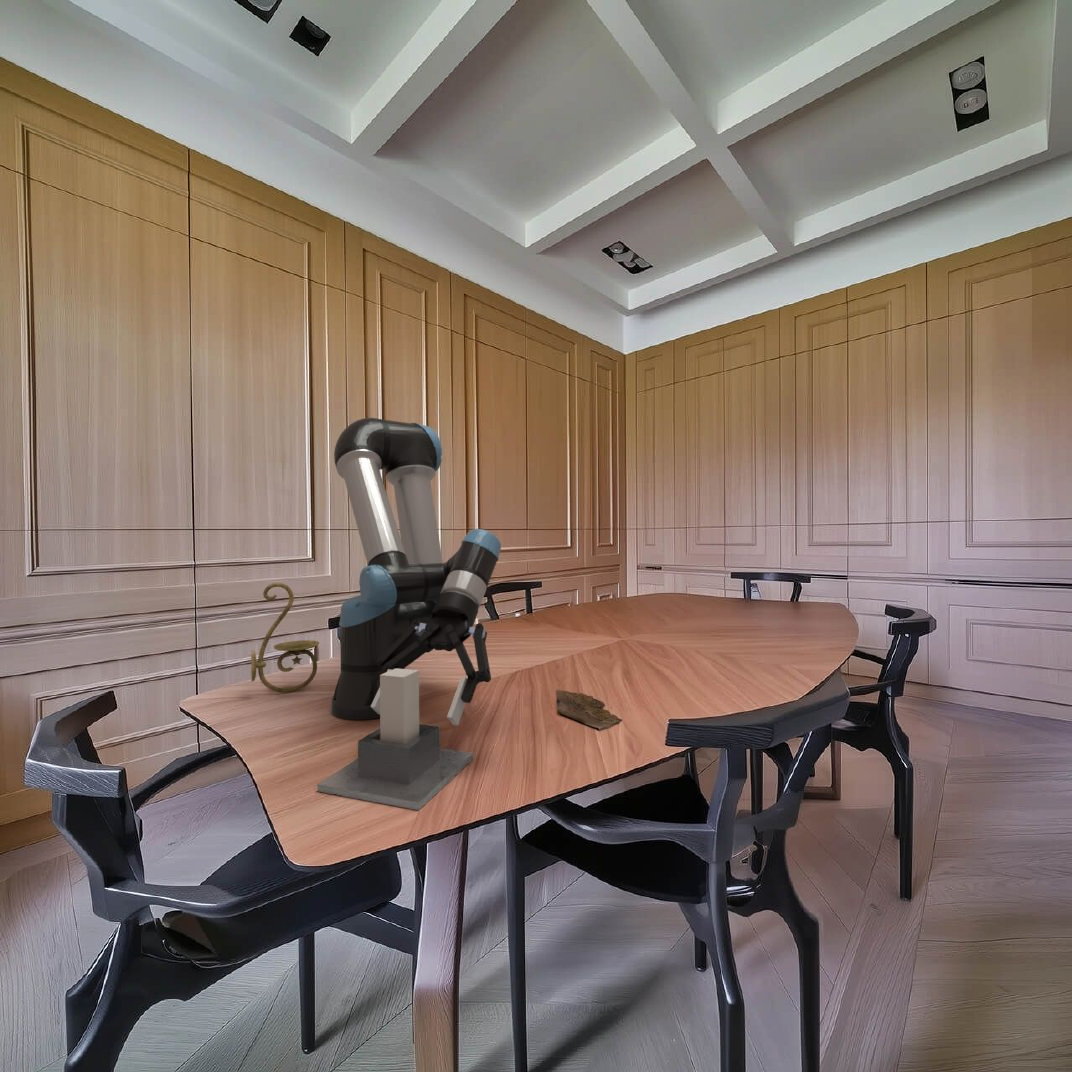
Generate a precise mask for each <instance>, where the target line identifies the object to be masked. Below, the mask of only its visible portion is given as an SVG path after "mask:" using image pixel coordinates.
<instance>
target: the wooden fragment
mask: <svg viewBox="0 0 1072 1072" xmlns="http://www.w3.org/2000/svg"><path fill="white" fill-rule="evenodd" d="M555 692H556V695H555V696H556V711H557V715H564V716H566V717H568V718H571V719H573V720H576V721H577V722H580V723H583V724H585V725H588V726H590V727H593V728H597V729H598V731H599V732H603V731H604V730H608V729H612V728H613V727H614V726H616V725H619V724H620V723H621V722H623V719H622V718H619V717H618V716H617V715H616V714H613V713H612V714H611V712H610V711H609V710H608V709H604V707H605V702H604V701H602V700H600V699H597V698H594V697H593V696H592V695H588V694H585V693H583V692H579V693H578V692H571V691H568V690H562V689H556V690H555ZM611 727H612V728H611Z"/></svg>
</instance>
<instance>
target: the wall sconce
mask: <svg viewBox="0 0 1072 1072" xmlns="http://www.w3.org/2000/svg"><path fill="white" fill-rule="evenodd" d="M277 587H278V588H281V589H284V590H285V591H286V592H287V594H288V603H287V605H286V606H285V608H284V609H283V611H282V612H281V613H280V614H279V616H278V617H277V618H276V620H275V621H274V622H273V624H272V625H271V626H270V628H269V630H268V631H267V633H266V635H265V637H264V639H263V641H262V643H261V646H260V649H259V653H258V659H257V656H256V652H255V650H254V649H253V650H251V652H250V653H251V657H250V658H251V659H250V660H251V661H250V664H251V665H250V666H251V669H250V671H251V673H250V674H251V682H254V681H255V680H256V678H257V675H256V674H257V671H258V677H259V680H260V681H261V683H262V685H264V686H265V687H266V688H267V689H269V690H271V691H273V692H278V693H292V692H296V691H299V690H301V689H303V688H305V687H307V686H308V685H309V684H310V683H311V682H312V681H313V680H314V678H315V676H316V675H317V671H318V661H317V658H316V655H314V653H313V652H312V651H311V650H309V649H313V648H315V647H317V646H319V645H320V641H318V640H317V641H316V640H312V639H311V640H306V639H305V640H292V641H285V642H281V643H277V644H274V645H273V648H274V650H277V651H281V652H282V651H284V652H283V653H282V654H281V655H280V656H279V657H278V659H277V663H276V666H277V667H278V668H277V669H278V670H280V671H281V672H282V673H286V672H291V671H293V670H294V667H291V666H289V667H284V666H283V664H282V663H283V660H284V659H285V658H286V657H288V656H290V655H294V656H295V658H292V659H291V660H292V662H293V665H296V664H298V665H301V660H302V659H303V658H301V657H300V658H299V656H300V654H306V655H307V656H308V657H309V658H310V659H311V663H312V671H311V673H310V675H309V677H308V678H307V679H306V680H305V681H304V682H302V683H300V684H298V685H295V686H292V687H278V686H275V685H273V684H272V683H270V682H269V681H268V680H267V679H266V677H265V673H264V668H265V667H267V662H266V661H264V654H265V651H266V648H267V645H268V643H269V640H270V639H271V637H272V635H273V633H274V631H275V630H276V629H277V627H278V626H279V624H280V623H281V622H282V620H283V619H285V616H286V615H287V614H288V613H289V611H290V610H291V608H292V606H293V603H294V598H295V596H294V593H293V591H292V589H291V588H290V587H289V586H288V585H287V584H285V583H282V582H275V583H274V582H273V583H270V584H268V586H266V587H265V588H264V590H263V593H262V595H263V598H264V599H265V600H267V601H274V600H275V599H277V596H278V595H276V594H273V596H269V594H268V592H269V591H270V590H271V589H273V588H277Z"/></svg>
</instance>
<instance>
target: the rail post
mask: <svg viewBox="0 0 1072 1072" xmlns="http://www.w3.org/2000/svg"><path fill="white" fill-rule="evenodd" d="M419 671H420V670H418V669H407V668H404V669H398V668H396V669H393V670H391V671H388V672H386V673H384V674H381V675H380V718H379V720H380V721H379V723H380V724H379V728H380V740H383V741H390V742H397V743H404V744H407V743H408V742H410V741H411V740H413V739H414V738H416V737H417V736H419V724H420V676H419V675H420V672H419Z"/></svg>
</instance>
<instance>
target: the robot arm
mask: <svg viewBox="0 0 1072 1072" xmlns="http://www.w3.org/2000/svg"><path fill="white" fill-rule="evenodd" d="M333 456H334V457H333V458H334V465H335V468H336V472H337V474H338V475H339V476H340V477H341V478H342V479H344V483H345V487H346V490H347V495H348V497H349V501H350V504H351V505H350V506H351V508H352V509H351V510H352V512H353V513H352V514H353V516H354V520H355V522H356V523H355V524H356V528H357V531H358V535H359V539H360V542H361V546H362V548H363V549H362V550H363V552H364V556H365V560H366V564H367V565H366V566H365V567H363V568H362V570H360V571H361V572H360V575H359V581H358V583H359V593H360V595H356V596H355V595H354V596H353V597H350V598H348V599H346V600H345V601H344V602H343V603H342V604H341V607H340V617H339V618H340V619H339V622H338V624H339V627H340V630H339V631H340V632H339V634H340V639H339V640H340V643H339V644H340V648H339V649H340V674H339V677H338V679H337V683H336V686H335V689H334V692H333V693H334V694H333V696H332V698H331V714H332V715H334V717H337V718H341V719H344V720H370V719H371V720H372V719H378V718H379V719H380V675H381V674H384V673H386V672H388V671H391V670H393V669H396V668H398V669H407V668H408V666H409V665H411V664H412V663H414V662H415V661H416V660H418V659H419V658H420V657H422V656H423V655H424V654H426V653H430V652H431V651H433V650H435V651H446V652H452V651H453V650H455V651H456V654H457V656H458V658H459V660H460V664H461V665H462V667H463V670H464V672H465V675H466V676H460V679H459V683H458V685H457V688H456V691H455V694H454V696H453V699H452V702H451V705H450V706H449V710H448V713H447V715H446V718H447V719H448V720H449V721H450V722H451V724H452V725H453V726H459V725H460V721H461V718H462V715H463V713H464V710H465V708H466V707H465V706H466V704H470V703H471V702H472V701H473V697H474V694H475V692H476V688H477V686H478V684H479V683H482V682H484V683H489V682H490V681H491V680H492V676H491V669H490V664H489V663H490V662H489V657H488V652H487V651H488V650H487V646H486V641H487V636H488V632H487V630H486V628H485V627H484V625H483V624H482V623H481V622H479V623H477V624H475V621H476V619H477V617H478V613H479V609H480V607H481V605H482V602H483V599H484V596H485V594H486V591H487V588H488V585H489V583H490V580H491V578H492V575H493V573H494V570H495V567H496V565H497V563H498V561H499V556H500V552H501V549H502V543H501V540H500V539H499V538H498V537H497V535H495V534H494V533H492V532H490V531H488V530H486V529H484V528H483V529H482V528H475V529H472V530H469V531H468V532H467V533H466V534H465V537H463V540H461V544H460V547H459V548H458V550H457V551H456V552H455V553H454V554H453V555H452V556H451V557H450V558H449V559H448V560H447V561H446V562H443V556H442V549H441V542H440V535H439V529H438V523H437V514H436V509H435V503H434V495H433V490H432V480H433V479H434V478H435V477H436V473H437V471H438V470H439V469H440V467H441V464H442V456H443V447H442V443H441V440H440V437H439V436H438V433H437V432H436V430H434V429H433V428H432V427H430V426H428V425H424V424H420V423H418V422H402V421H396V420H389V419H381V418H377V417H376V418H375V417H365V418H361V419H358V420H356V421H353V422H352V423H350V424H349V425H347V426H346V427H345V428H344V430H343V431H341V433H340V435H339V437H338V438H337V441H336V443H335V447H334V451H333ZM381 470H383V471H384V472H385V473H384V474H385V480H386V481H387V482H388V483H389V484H391V485H393V489H394V497H395V498H394V499H395V504H396V513H397V519H398V526H397V523H396V519H395V516H394V513H393V510H392V509H393V508H392V506H391V503H390V501H389V497H388V493H387V491H386V488H385V485H384V481H383V478H382V474H381ZM474 624H475V626H474ZM470 637H472V639H473V644H474V648H475V649H474V650H475V657H476V663H477V664H476V665H477V670H476V669H475V667H474V665H473V663H472V661H471V658H470V656H469V654H468V651H467V649H466V646H465V645H464V642H465V641H466V640H467V639H469V638H470Z"/></svg>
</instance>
